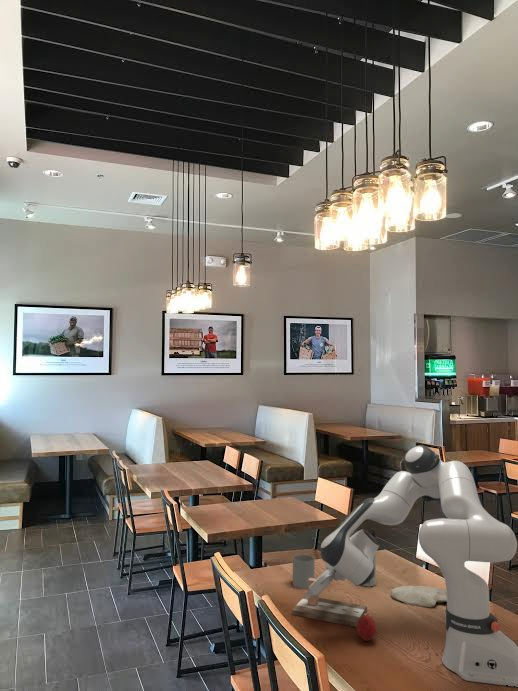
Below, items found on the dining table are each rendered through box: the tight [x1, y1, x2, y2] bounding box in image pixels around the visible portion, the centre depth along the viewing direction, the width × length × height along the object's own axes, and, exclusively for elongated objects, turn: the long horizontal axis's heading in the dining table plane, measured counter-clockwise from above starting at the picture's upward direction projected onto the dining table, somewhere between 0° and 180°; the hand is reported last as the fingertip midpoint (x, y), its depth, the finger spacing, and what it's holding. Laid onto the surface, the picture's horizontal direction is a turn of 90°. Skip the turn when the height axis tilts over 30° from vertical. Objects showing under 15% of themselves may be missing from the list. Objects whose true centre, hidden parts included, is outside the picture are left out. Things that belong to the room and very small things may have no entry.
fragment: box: [390, 585, 447, 608], centre depth 197 cm, size 15×20×5 cm
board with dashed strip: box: [291, 595, 368, 628], centre depth 185 cm, size 22×14×2 cm, turn 66°
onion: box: [356, 612, 377, 642], centre depth 165 cm, size 6×6×8 cm
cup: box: [292, 554, 316, 590], centre depth 212 cm, size 8×8×10 cm
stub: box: [307, 578, 319, 605], centre depth 188 cm, size 3×2×8 cm
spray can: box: [362, 529, 377, 588], centre depth 213 cm, size 7×7×20 cm
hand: (311, 591), depth 188 cm, fingers open, 8 cm apart
